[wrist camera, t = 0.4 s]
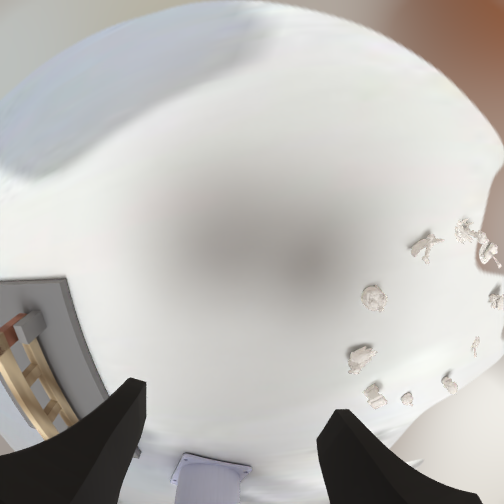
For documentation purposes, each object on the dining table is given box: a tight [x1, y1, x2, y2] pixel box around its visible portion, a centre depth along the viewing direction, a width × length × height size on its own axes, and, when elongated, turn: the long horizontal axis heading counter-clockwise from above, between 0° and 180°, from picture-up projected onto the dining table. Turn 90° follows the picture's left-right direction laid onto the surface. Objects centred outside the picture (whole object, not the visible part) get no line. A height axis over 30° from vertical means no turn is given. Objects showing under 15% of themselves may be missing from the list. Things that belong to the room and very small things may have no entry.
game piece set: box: [348, 218, 504, 409], centre depth 18 cm, size 19×20×4 cm
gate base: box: [0, 279, 141, 458], centre depth 18 cm, size 22×19×4 cm
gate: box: [0, 313, 79, 440], centre depth 16 cm, size 15×2×5 cm, turn 4°
